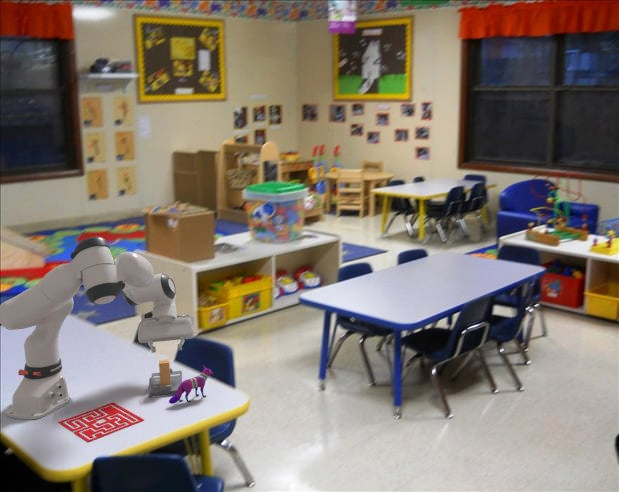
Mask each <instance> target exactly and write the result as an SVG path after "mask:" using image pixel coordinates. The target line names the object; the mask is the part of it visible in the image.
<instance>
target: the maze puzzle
mask: <svg viewBox="0 0 619 492" xmlns="http://www.w3.org/2000/svg"><path fill="white" fill-rule="evenodd" d="M102 411H103V412H102ZM126 413H127V414H126ZM98 414H99V415H98ZM108 417H109V418H108ZM84 418H85V419H84ZM126 418H127V419H126ZM100 420H105V421H103V422H99V421H100ZM80 421H81V422H80ZM116 422H117V423H116ZM141 422H145V419H144V418H142V417H140V416H139V415H137V414H136V413H133V412H132V411H130V410H128V409H127V408H125V407H122V406H121V405H119V404H117V403H116V402H113V401H112V402H110V403H107V404H104V405H101V406H98V407H95V408H92V409H90V410H87V411H85V412H81V413H79V414H77V415H74V416H73V415H72V416H71V417H67V418H66V419H65V418H64V419H62V420H60V421H58V424H60V425H61V426H63V427H64V428H66V429H68V430H69V431H70V432H73V433H74V434H75V435H76V436H78V437H79V438H80V439H82V440H83V441H85V442H86V443H91V442H93V441H96V440H99V439H101V438H103V437H106V436H109V435H110V434H111V435H112V434H113V433H116V432H119V431H121V430H124V429H126V428H129V427H132V426H133V425H137V424H140V423H141ZM66 423H67V424H66ZM75 423H76V424H77V425H76V424H75ZM126 423H127V424H126ZM94 424H95V425H96V426H95V425H94ZM72 427H73V428H72ZM104 428H105V429H104ZM102 432H103V433H102ZM81 433H82V434H81ZM84 435H85V436H84ZM93 435H94V436H95V437H94V436H93ZM86 436H87V437H86Z"/></svg>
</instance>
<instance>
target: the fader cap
mask: <svg viewBox="0 0 619 492" xmlns="http://www.w3.org/2000/svg"><path fill="white" fill-rule="evenodd" d="M170 368H171V364H170V359H169V358H168V359H159V360H158V369H159V373H160V383H161V386H163V385H171V376H170Z"/></svg>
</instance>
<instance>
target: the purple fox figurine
mask: <svg viewBox="0 0 619 492" xmlns="http://www.w3.org/2000/svg"><path fill="white" fill-rule="evenodd" d="M202 366H203V367H202V368H203V370H202V372H201V373H200V374H199V375H197V376H195V377H191V378H188V379H185V380H182V383H181V384H180V386H179V388H178V390H177V392H176V394H175V395H172V397H170V398H169V400H168V403H169V404H171V405H173V404H176V403H178V402H184V400H183V399H181V398H182V395H183V394H184V393H185V395H184V397H185V400H186V403H191V402H192V400H189V398H188V397H189V395H190V393H191V392H192V390H195V391H194V392H195V396H196V397H199V396H200V394H199V393H198V389H199V388H200V390H199V391H200V392H201V397H202V398H206V397H207V396H206V394H205V395H204V388H205V387H206V385H205V384H206V381H207V380H208V378H209V377H210V376H212V375H213V374H214V372H213V371H212V370H211V369H210V368H209V367H208V368H207V367H206V366H205V365H204V364H203V365H202Z"/></svg>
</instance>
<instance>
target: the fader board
mask: <svg viewBox="0 0 619 492" xmlns="http://www.w3.org/2000/svg"><path fill="white" fill-rule="evenodd" d="M182 372H183V371H182V370H173V368H172V367H170V376H171V385H163V386H161V383H160V372H154V373H153V372H152V373H151V377H150V378H151V379H150V386H149V388H150V389H149V398H154V397H164V396H165V397H166V396H174V395H175V394H176V392H177V390H178V388H179V386H180V384H181V383H182V382H183V373H182Z"/></svg>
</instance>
